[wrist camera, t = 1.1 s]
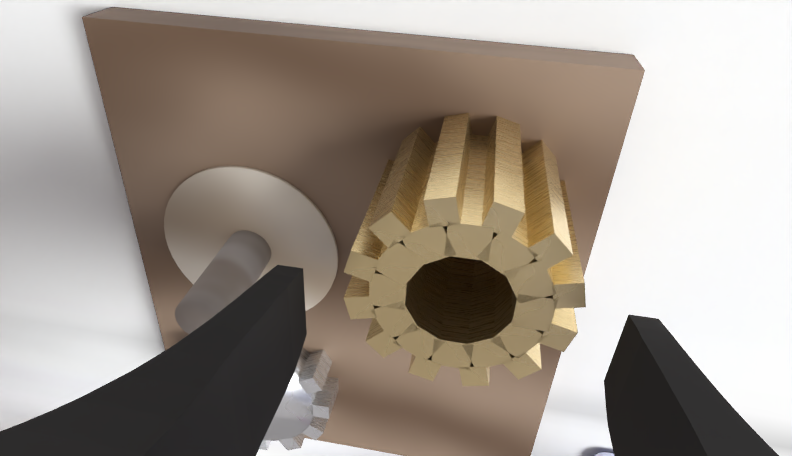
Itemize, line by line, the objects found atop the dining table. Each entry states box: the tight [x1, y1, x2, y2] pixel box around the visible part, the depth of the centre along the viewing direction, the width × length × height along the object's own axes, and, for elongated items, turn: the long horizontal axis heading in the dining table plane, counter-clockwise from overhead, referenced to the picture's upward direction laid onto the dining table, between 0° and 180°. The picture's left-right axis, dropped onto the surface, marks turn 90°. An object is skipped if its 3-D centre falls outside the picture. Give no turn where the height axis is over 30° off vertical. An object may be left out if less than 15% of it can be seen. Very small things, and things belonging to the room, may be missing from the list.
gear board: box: [82, 7, 645, 456], centre depth 19 cm, size 18×16×6 cm
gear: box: [259, 348, 339, 450], centre depth 22 cm, size 6×6×4 cm
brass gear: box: [344, 113, 586, 386], centre depth 15 cm, size 6×6×5 cm
